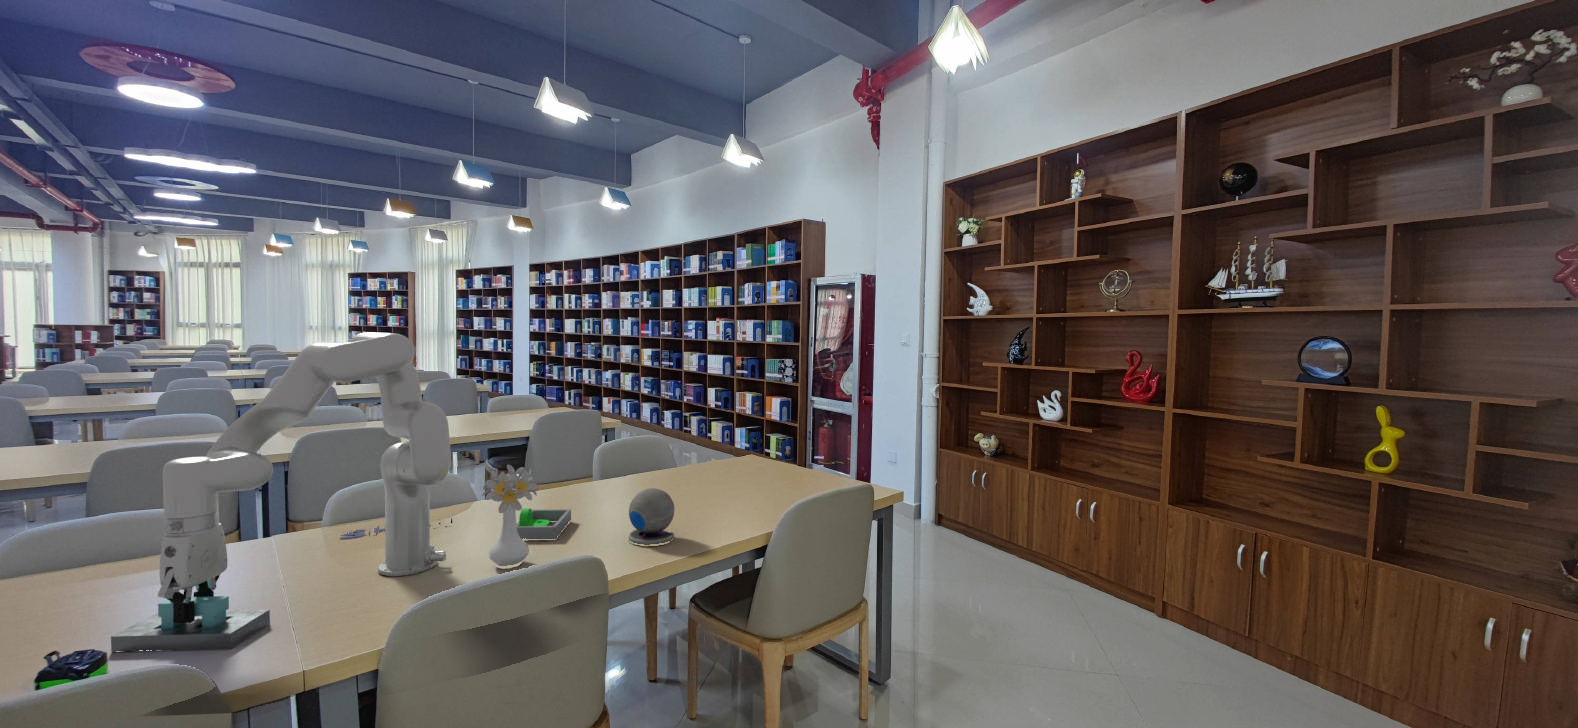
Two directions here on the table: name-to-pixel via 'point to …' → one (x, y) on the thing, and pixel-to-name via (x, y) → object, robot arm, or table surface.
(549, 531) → the parts tray
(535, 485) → the flower vase
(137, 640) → the gray slotted base plate
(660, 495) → the webcam
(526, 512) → the mechanical part
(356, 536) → the signage
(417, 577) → the table surface
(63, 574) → the table surface
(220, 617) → the clip
